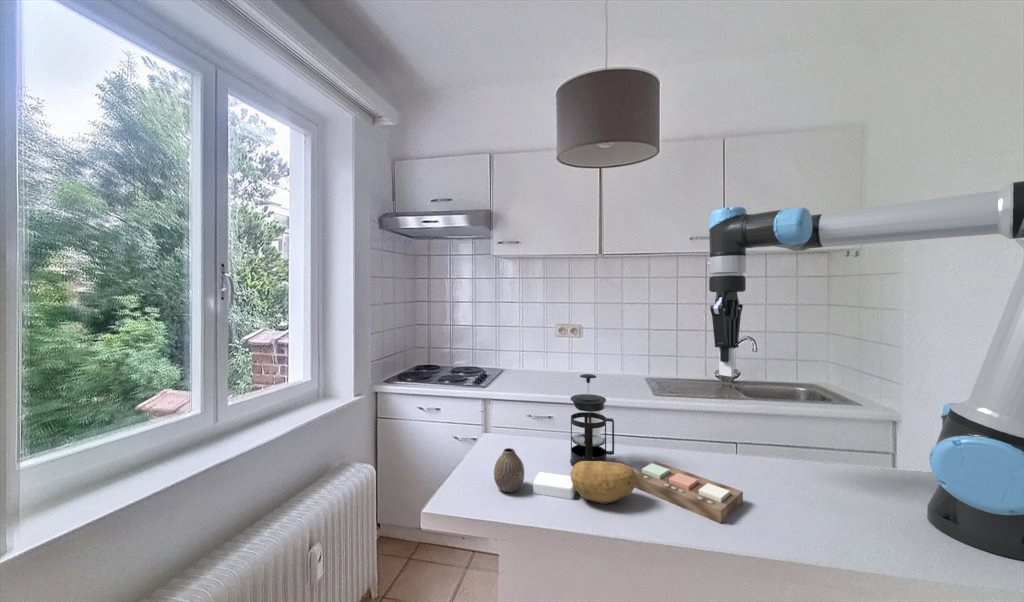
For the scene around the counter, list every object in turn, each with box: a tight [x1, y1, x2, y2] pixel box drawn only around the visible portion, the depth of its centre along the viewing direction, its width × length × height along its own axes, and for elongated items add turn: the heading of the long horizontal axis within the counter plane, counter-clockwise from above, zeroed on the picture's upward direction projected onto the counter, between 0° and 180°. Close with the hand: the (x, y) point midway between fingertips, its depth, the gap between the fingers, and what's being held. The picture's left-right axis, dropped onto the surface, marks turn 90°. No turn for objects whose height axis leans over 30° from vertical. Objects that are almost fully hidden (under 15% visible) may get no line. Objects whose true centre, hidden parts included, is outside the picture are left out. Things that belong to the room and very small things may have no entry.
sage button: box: [641, 463, 670, 479], centre depth 92 cm, size 4×4×3 cm
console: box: [634, 460, 744, 524], centre depth 87 cm, size 20×11×3 cm, turn 41°
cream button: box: [699, 483, 730, 503], centre depth 82 cm, size 4×4×3 cm
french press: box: [569, 373, 615, 467], centre depth 102 cm, size 12×9×23 cm
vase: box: [493, 447, 525, 493], centre depth 90 cm, size 7×7×9 cm
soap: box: [532, 471, 577, 500], centre depth 89 cm, size 9×6×3 cm, turn 72°
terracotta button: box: [669, 473, 698, 490], centre depth 87 cm, size 4×4×3 cm
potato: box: [570, 461, 638, 505], centre depth 85 cm, size 10×14×8 cm
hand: (726, 375), depth 94 cm, fingers closed
